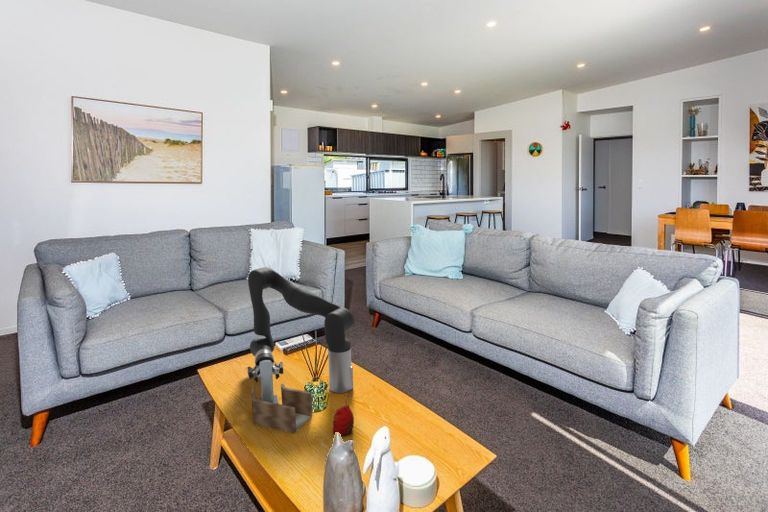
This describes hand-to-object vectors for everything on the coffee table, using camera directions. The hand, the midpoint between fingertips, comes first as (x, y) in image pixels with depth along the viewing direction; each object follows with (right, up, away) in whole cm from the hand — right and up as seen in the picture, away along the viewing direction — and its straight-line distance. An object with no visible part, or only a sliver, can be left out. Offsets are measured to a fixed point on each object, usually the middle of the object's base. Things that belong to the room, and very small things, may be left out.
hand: (267, 378), depth 158 cm
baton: (-1, -10, +4) cm, 11 cm away
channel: (+8, -12, -8) cm, 17 cm away
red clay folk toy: (+31, -14, -15) cm, 37 cm away
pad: (-1, -10, +4) cm, 11 cm away
